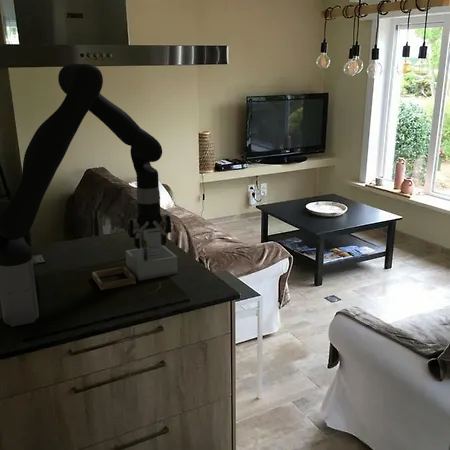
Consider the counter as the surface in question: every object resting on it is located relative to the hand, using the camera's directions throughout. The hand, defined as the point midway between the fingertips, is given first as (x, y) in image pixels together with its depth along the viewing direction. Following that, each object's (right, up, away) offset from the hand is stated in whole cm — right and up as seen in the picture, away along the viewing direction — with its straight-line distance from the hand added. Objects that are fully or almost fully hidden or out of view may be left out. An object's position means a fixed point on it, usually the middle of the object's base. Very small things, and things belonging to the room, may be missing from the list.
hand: (150, 246), depth 175 cm
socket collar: (-11, -11, -6) cm, 17 cm away
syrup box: (0, -7, +3) cm, 8 cm away
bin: (0, -8, +3) cm, 9 cm away
